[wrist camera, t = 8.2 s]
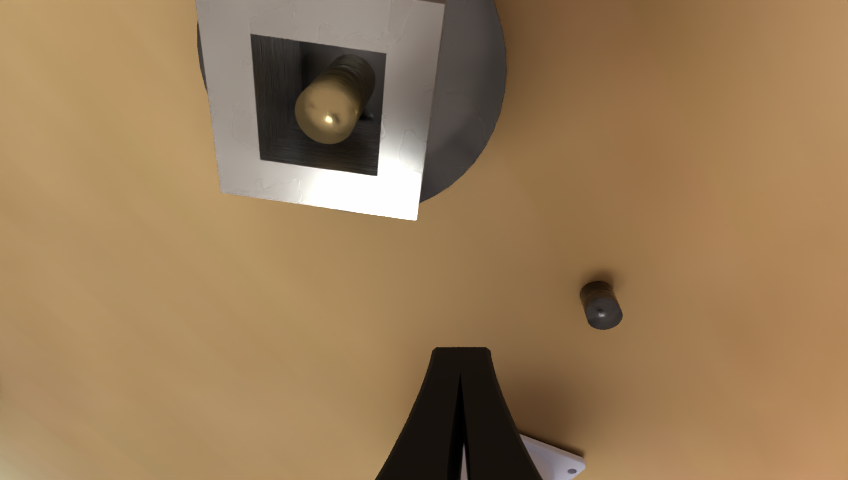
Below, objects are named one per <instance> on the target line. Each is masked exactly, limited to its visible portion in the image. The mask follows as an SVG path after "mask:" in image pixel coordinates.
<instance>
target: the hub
mask: <svg viewBox="0 0 848 480" xmlns="http://www.w3.org/2000/svg"><path fill="white" fill-rule="evenodd" d="M197 47H198V54H199V62H200V68H201V72H202V76H203V80H204V84H205V88H206V91H207V83H206V75H205V68H204V60H203V53H202V45H201V38H200V30H199V23H198V24H197ZM386 54H387V53H380V52H373V51H366V50H359V49H352V48H346V47H339V46H332V45H325V44H318V43H311V42H304V41H301V82H302V93H301V94H300V95H299V97H298V99H297V101H296V105H295V116H296V120H297V122H298V124H299V126H300V128H301V129H302V131H303V132H304V133H305V134H306V135H307V136H308V137H310V138H311V139H313V140H315V141H317V142H320V143H324V144H335V143H338V142H341V141H343V140H344V139H346V138H347V137H348V136H349V135H350V133H351V132H352V130H353V128H354V126H355V125H356V123H357V121H358V120H361V121H368V122H375V123H381V121H382V108H383V94H384V81H385V68H386ZM505 83H506V49H505V43H504V37H503V31H502V26H501V23H500V20H499V17H498V13H497V10H496V7H495V4H494V2H493V0H447V8H446V15H445V22H444V30H443V37H442V44H441V52H440V59H439V67H438V74H437V81H436V89H435V96H434V104H433V111H432V118H431V126H430V133H429V140H428V148H427V155H426V163H425V169H424V175H423V181H422V187H421V194H420V200H419V203H421V202H423V201H425V200H427V199H429V198H431V197H433V196H435V195H437V194H438V193H440V192H441V191H443V190H445V189H446V188H448V187H449V186H450V185H452V184H453V183H454V182H455V181H456V180H458V179H459V178H460V177H461V176H462V175H463V174H464V173H465V172H466V171H467V170H468V169H469V168H470V167H471V165H472V164H473V163H474V162H475V161H476V159H477V158H478V156H479V155H480V154H481V152H482V151H483V149H484V148H485V146H486V144H487V142H488V140H489V138H490V136H491V135H492V133H493V131H494V128H495V125H496V123H497V120H498V117H499V114H500V111H501V106H502V102H503V98H504V93H505ZM207 93H208V91H207ZM332 209H333V208H332ZM336 210H340V209H336ZM342 211H347V210H342ZM349 212H354V211H349ZM359 213H361V212H359Z"/></svg>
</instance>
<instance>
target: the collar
mask: <svg viewBox="0 0 848 480" xmlns="http://www.w3.org/2000/svg"><path fill="white" fill-rule="evenodd" d="M196 8H197V15H198V23H199V30H200V38H201V45H202V53H203V60H204V68H205V75H206V83H207V91H208V98H209V106H210V113H211V121H212V128H213V136H214V143H215V151H216V158H217V166H218V173H219V181H220V188H221V193H227V194H234V195H241V196H248V197H255V198H262V199H269V200H276V201H283V202H290V203H298V204H305V205H312V206H319V207H326V208H333V209H340V210H347V211H354V212H361V213H368V214H375V215H382V216H389V217H396V218H403V219H410V220H416V218H417V212H418V206H419V200H420V194H421V187H422V181H423V175H424V169H425V163H426V155H427V148H428V140H429V133H430V126H431V118H432V111H433V104H434V96H435V89H436V81H437V74H438V67H439V59H440V52H441V44H442V37H443V30H444V22H445V15H446V8H447V0H196ZM301 41H304V42H311V43H318V44H325V45H332V46H339V47H346V48H352V49H359V50H366V51H373V52H380V53H387V54H386V68H385V81H384V94H383V108H382V121H381V123H375V122H368V121H361V120H358V121H357V123H356V125H355V126H354V128H353V130H352V132H351V133H350V135H349V136H348V137H347V138H346V139H344V140H343V141H341V142H338V143H335V144H324V143H320V142H317V141H315V140H313V139H311V138H310V137H308V136H307V135H306V134H305V133H304V132H303V131H302V129H301V128H300V126H299V124H298V122H297V120H296V116H295V105H296V101H297V99H298V97H299V95H300V94H301V93H302V82H301Z"/></svg>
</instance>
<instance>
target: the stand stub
mask: <svg viewBox="0 0 848 480" xmlns="http://www.w3.org/2000/svg"><path fill="white" fill-rule="evenodd" d="M580 298H581V302H582V305H583V308H584V311H585V314H586V317H587V320H588V323H589V324H590V326H592V327H593V328H596V329H600V330H605V329H610V328H613V327H615V326H616V325H618V324H619V323H620V321H621V320H622V317H623V314H622V311H621V308H620V306H619V304H618V301H617V299H616V296H615V294H614V292H613V289H612V287H611V286H610V285H609V284H607V283H605V282H600V281H597V282H592V283H589V284H587V285H586V286H585V287H584V288H583V289H582V290H581V292H580Z"/></svg>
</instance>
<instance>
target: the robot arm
mask: <svg viewBox="0 0 848 480" xmlns="http://www.w3.org/2000/svg"><path fill="white" fill-rule="evenodd" d="M585 468H586V463H585V460H584V458H582V457H580V456H577V455H574V454H572V453H569V452H567V451H564V450H561V449H559V448H556V447H553V446H551V445H548V444H545V443H543V442H540V441H537V440H535V439H532V438H529V437H527V436H524V435H521V434H519V432H518V430H517V428H516V426H515V423H514V421H513V419H512V416H511V414H510V412H509V409H508V407H507V405H506V402H505V400H504V397H503V394H502V392H501V389H500V386H499V383H498V380H497V377H496V374H495V370H494V367H493V362H492V358H491V352H490V350H489V349H488V348H486V347H436V348H435V349H434V350H433V351H432V355H431V359H430V363H429V366H428V369H427V372H426V375H425V378H424V381H423V384H422V386H421V389H420V391H419V394H418V396H417V399H416V401H415V403H414V405H413V408H412V410H411V412H410V415H409V417H408V419H407V421H406V423H405V425H404V427H403V429H402V431H401V433H400V435H399V437H398V439H397V441H396V443H395V445H394V447H393V449H392V451H391V453H390V455H389V456H388V458H387V460H386V462H385V464H384V465H383V467H382V469H381V471H380V472H379V474H378V476H377V477H376V479H375V480H571V479H572V478H574V477H575V476H576V475H578V474H579V473H580V472H581V471H583V470H584V469H585Z"/></svg>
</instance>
